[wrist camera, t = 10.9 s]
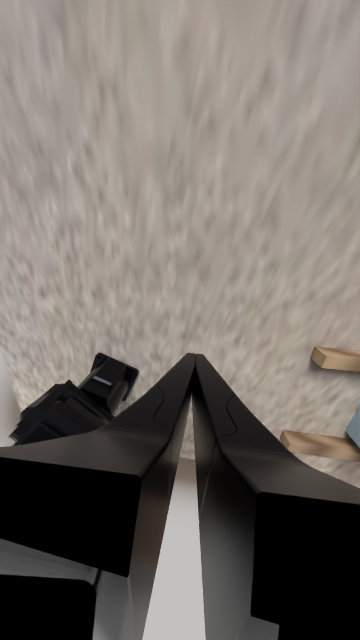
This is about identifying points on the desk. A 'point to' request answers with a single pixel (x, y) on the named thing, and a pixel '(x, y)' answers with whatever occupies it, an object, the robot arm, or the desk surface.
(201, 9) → the desk surface
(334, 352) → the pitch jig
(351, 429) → the block
